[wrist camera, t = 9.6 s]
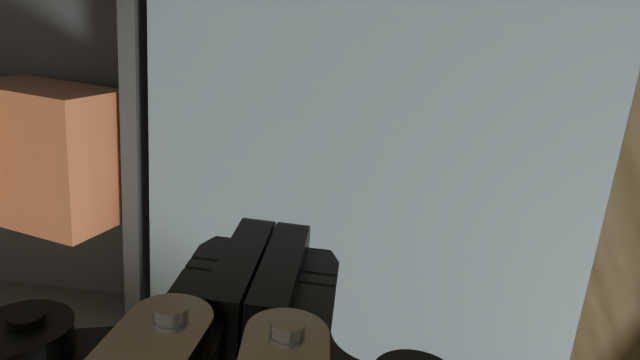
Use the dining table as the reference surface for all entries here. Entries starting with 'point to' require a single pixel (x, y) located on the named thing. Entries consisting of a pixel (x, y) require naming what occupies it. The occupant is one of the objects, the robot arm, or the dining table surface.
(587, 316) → the dining table surface
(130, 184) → the box
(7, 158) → the peach foam cube
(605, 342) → the dining table surface
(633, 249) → the dining table surface
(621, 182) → the dining table surface
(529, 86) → the board
